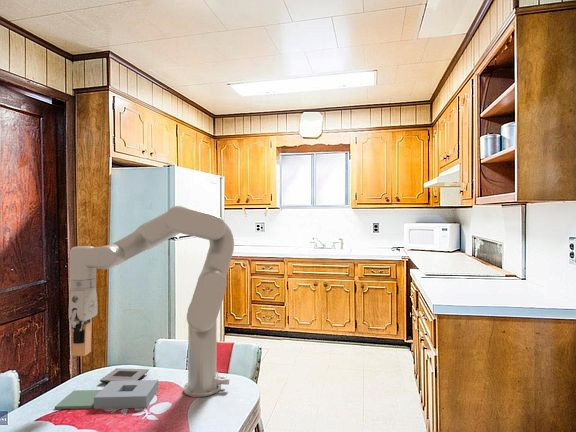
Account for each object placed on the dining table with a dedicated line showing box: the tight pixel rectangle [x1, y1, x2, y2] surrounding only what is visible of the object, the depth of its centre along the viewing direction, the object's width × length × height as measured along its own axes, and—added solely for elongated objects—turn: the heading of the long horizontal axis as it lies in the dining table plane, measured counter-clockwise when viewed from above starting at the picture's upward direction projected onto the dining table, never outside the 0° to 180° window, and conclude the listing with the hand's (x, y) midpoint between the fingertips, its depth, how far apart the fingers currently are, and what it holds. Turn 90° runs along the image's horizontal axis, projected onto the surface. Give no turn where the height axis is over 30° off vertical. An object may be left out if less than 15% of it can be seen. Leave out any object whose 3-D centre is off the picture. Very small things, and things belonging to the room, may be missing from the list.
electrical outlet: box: [99, 367, 150, 383], centre depth 137 cm, size 13×10×2 cm
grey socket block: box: [93, 379, 159, 410], centre depth 121 cm, size 16×12×4 cm
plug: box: [71, 319, 93, 357], centre depth 121 cm, size 4×4×11 cm
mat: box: [54, 389, 102, 410], centre depth 120 cm, size 11×11×1 cm
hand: (82, 340), depth 121 cm, fingers closed on plug, 4 cm apart
